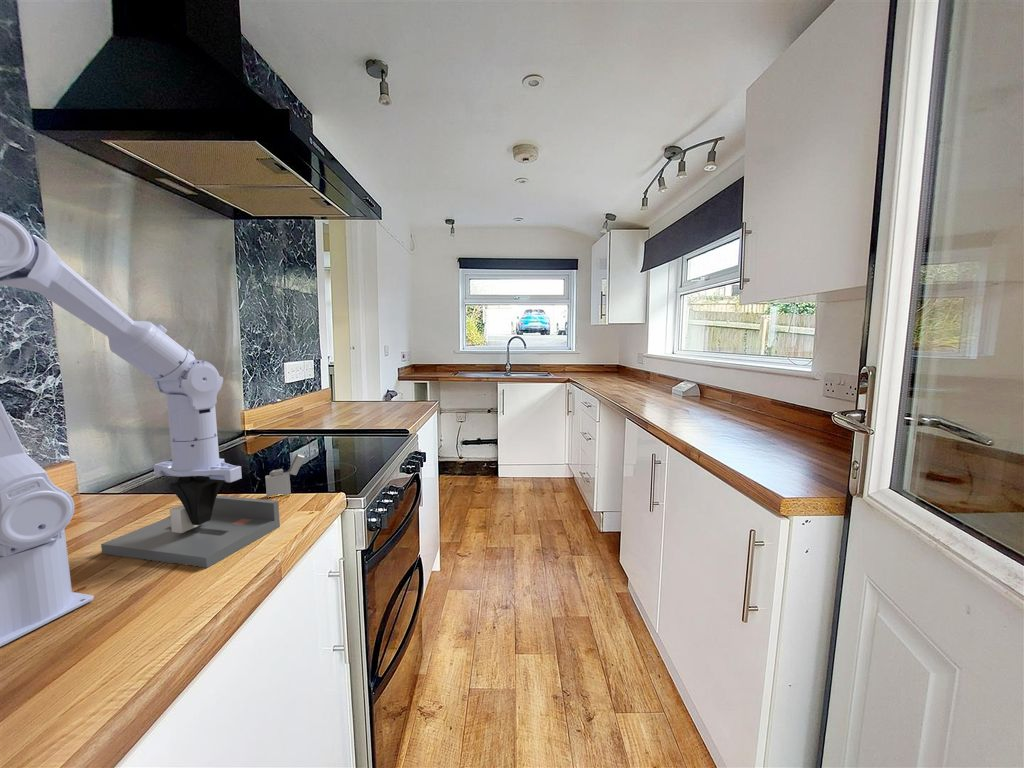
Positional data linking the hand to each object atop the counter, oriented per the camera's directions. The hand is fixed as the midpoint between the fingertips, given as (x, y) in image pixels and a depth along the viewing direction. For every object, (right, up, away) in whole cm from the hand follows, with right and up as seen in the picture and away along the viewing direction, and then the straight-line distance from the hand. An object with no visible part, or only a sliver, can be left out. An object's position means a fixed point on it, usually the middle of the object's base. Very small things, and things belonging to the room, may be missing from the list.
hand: (201, 522), depth 63 cm
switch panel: (-1, -3, +1) cm, 3 cm away
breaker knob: (-2, -1, +1) cm, 3 cm away
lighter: (+2, -1, +20) cm, 20 cm away
